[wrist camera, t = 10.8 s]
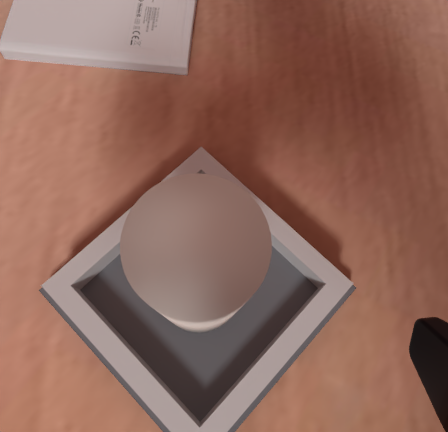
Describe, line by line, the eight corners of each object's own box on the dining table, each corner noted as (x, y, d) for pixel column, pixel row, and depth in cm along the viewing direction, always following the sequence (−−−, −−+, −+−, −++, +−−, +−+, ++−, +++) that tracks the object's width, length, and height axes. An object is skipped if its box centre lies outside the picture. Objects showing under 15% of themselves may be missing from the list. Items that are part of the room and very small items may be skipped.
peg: (252, 268, 21) (292, 206, 12) (221, 346, 20) (238, 346, 10) (179, 237, 22) (160, 152, 12) (143, 312, 20) (91, 282, 11)
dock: (349, 290, 22) (367, 283, 20) (200, 467, 19) (199, 483, 17) (201, 156, 24) (201, 135, 22) (46, 293, 21) (26, 285, 19)
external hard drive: (36, -22, 30) (199, -8, 30) (8, 65, 27) (188, 80, 27) (27, -43, 28) (198, -27, 28) (-4, 47, 25) (186, 64, 25)
